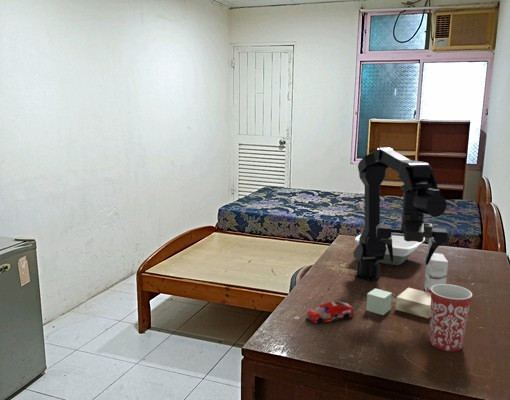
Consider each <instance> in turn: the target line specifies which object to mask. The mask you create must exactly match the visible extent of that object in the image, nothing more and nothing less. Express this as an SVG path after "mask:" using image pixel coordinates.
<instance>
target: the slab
mask: <svg viewBox="0 0 510 400" xmlns="http://www.w3.org/2000/svg"><path fill="white" fill-rule="evenodd" d="M395 310H396V311H399V312H400V311H401V312H404V313H407V314H411V315H414V316H418V317H422V318H425V319H429V318H430V317H431V293H428V292H426V291H425V290H420V289H416V288H411V287H407V288H406V289H405V290H403V291H402V292H401V293H400V294H398V295H397V296H396V301H395Z"/></svg>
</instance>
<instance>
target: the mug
mask: <svg viewBox="0 0 510 400" xmlns="http://www.w3.org/2000/svg"><path fill="white" fill-rule="evenodd" d="M472 298H473V293H472V291H471V290H469V289H467V287H466V288H465V287H463V286H459V285H455V284H450V283H446V284H437V285H434V286H432V287H431V316H430V317H429V318H430V321H429V322H430V323H429V324H430V325H429V342H430V344H431V345H432V346H433V347H434V348H437V349H439V350H442V351H446V352H458V351H460V350H461V349H463V345H464V341H465V339H464V338H465V333H466V327H467V321H468V316H469V310H470V307H471V306H470V305H471V300H472Z"/></svg>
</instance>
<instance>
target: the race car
mask: <svg viewBox="0 0 510 400" xmlns="http://www.w3.org/2000/svg"><path fill="white" fill-rule="evenodd" d="M354 313H355V311H354V308H353V306H352V305H350V304H349V303H348V302H341V301H328V302H325V303H323V304H319V306H317V307H314V308H311V309H309V310H308V311H307V314H306V319H307V321H310V322H311V323H314V324H317V325H320V324H321V325H322V324H324V323H329V322H334V321H340V320H344V321H345V320H349V319H350V318H351V319H352V318H353V317H354V316H355V315H354Z"/></svg>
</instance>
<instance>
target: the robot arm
mask: <svg viewBox="0 0 510 400" xmlns="http://www.w3.org/2000/svg"><path fill="white" fill-rule="evenodd" d="M389 168H390V169H391V170H393V171H395V172H396V173H398V179H399V180H401V182H403V184H402V185H401V186H400V188H399V189H400V190H401V191H403V195H402V197H403V199H402V209H401V222H400V224H401V225H400V228H392V224H381V185H382V183H383V181H384V179H385V178H386V173H387V170H388V169H389ZM357 169H358V174H359V175H358V176H359V179H360V181H361V182H362V184H363V186H364V229H363V232H362V233H360V234H361V236H360V238H359V244H357V246H356V247H355V249H354V250H353V258H354V259H355V260H357V268H356V269H357V271H356V274H354V277H355V278H359V279H361V280H367V281H370V282H373V281H375V280H377V279H379V278H380V277H381V264H380V262H379V260H383V259H384V256H385V253H386V249H387V248H388V251H389V255H390V259H391V262H393V247H392V235H395V236H404V240H405V241H409V242H410V241H417V242H423V239H424V238H425V239H428V244H427V250H426V255H425V266H426V265H428V263H429V261H430V259H431V257H432V255H433V253H435V251H436V250H437V248H438V247H440V246H441V247H443V245H444V244H449V243H450V234H449V232H448V230H447V229H446V228H441V227H433V224H432V223H428V222H427V223H425V221H424V220H425V219H424V218H425V215H427V216H430V217H434V218H437V217H440V216H442V215H443V214H444V213H445V211H446V209H447V207H448V204H447V200H446V199H445V196H443V195H441V193H442V192H441V190H440V189H439V187H438V181H437V180H436V178H435V175H434V172H433V169H432V166H431V164H429V163H428V162H424V161H420V160H413V159H412V160H411V159H410V158H408V157H406V156H405V155H402V154H400V153H399V152H397V151H395V150H394V149H393V148H391V147H377V148H375V149H374V150H373V151H372V152H370V153H368V154H366V155H365V156H363V158H361V159H360V161H359V162H358V165H357ZM423 243H424V242H423ZM386 245H387V248H386Z"/></svg>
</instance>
